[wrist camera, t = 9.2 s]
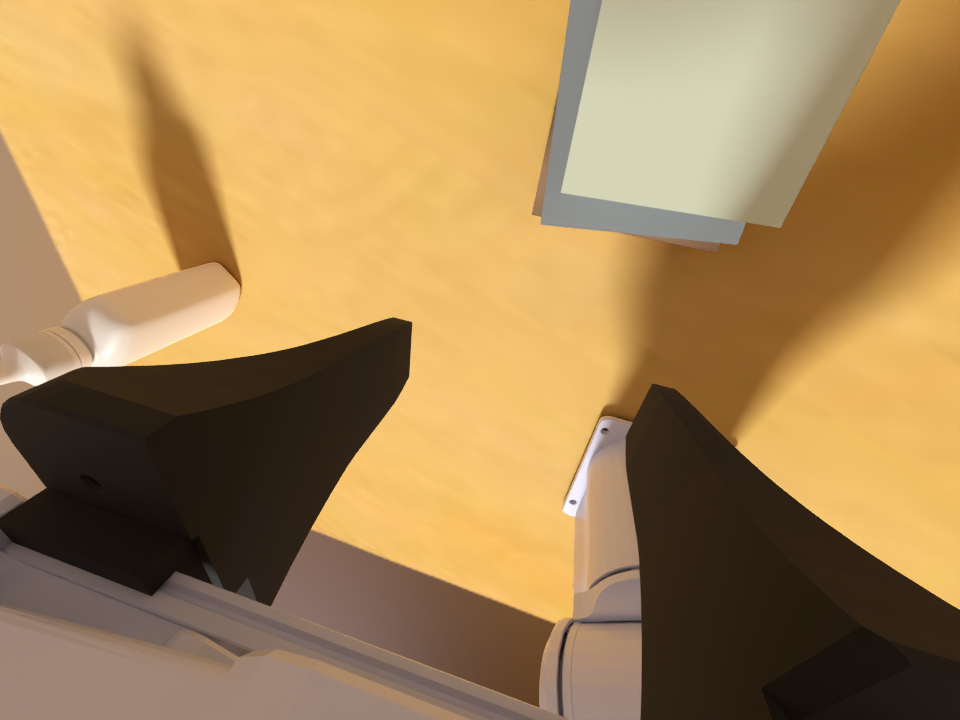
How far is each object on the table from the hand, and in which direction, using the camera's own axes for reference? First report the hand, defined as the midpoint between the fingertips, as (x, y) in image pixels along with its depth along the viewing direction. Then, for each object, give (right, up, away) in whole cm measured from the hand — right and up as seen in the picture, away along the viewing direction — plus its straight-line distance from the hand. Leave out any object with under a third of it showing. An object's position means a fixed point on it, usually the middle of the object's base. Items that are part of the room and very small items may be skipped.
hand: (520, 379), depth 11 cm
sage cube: (+5, +9, +1) cm, 10 cm away
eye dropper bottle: (-20, +6, +15) cm, 26 cm away
